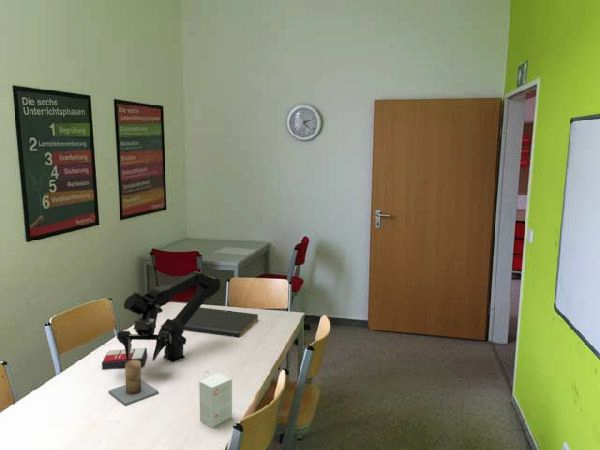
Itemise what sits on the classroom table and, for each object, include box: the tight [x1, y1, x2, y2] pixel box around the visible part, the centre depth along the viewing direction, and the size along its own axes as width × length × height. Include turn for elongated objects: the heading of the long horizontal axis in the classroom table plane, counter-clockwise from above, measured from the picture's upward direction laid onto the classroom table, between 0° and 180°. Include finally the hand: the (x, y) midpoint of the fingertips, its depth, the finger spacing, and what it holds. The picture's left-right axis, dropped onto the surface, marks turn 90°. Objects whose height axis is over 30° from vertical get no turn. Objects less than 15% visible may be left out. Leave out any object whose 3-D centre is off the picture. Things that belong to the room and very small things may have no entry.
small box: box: [198, 372, 233, 429], centre depth 149 cm, size 8×6×13 cm
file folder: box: [184, 306, 259, 338], centre depth 232 cm, size 33×4×24 cm
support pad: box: [108, 379, 160, 407], centre depth 165 cm, size 12×12×1 cm
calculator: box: [101, 347, 148, 370], centre depth 189 cm, size 11×4×15 cm
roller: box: [124, 360, 142, 394], centre depth 164 cm, size 5×5×10 cm
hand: (140, 360), depth 172 cm, fingers open, 9 cm apart
